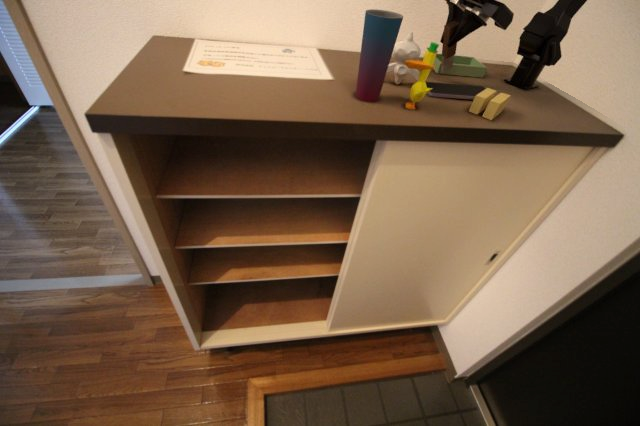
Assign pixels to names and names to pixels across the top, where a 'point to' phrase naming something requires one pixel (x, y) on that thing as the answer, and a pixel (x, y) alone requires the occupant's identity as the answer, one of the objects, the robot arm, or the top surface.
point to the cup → (376, 51)
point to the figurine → (404, 58)
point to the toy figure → (421, 74)
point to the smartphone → (454, 90)
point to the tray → (461, 66)
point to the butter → (489, 103)
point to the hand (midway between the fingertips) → (444, 44)
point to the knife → (446, 51)
